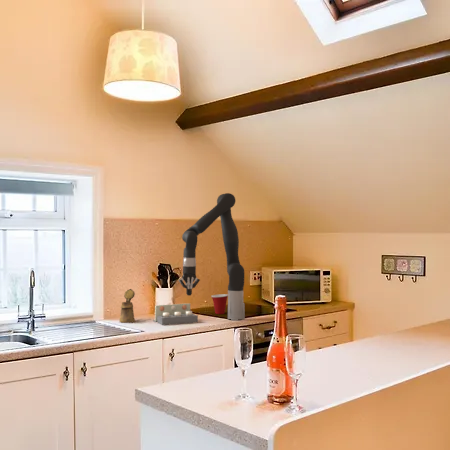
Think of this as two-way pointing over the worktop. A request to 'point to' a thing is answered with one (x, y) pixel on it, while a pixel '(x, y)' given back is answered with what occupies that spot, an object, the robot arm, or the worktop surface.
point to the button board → (177, 319)
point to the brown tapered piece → (127, 308)
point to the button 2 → (188, 313)
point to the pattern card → (170, 309)
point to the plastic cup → (219, 303)
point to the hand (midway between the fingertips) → (188, 295)
